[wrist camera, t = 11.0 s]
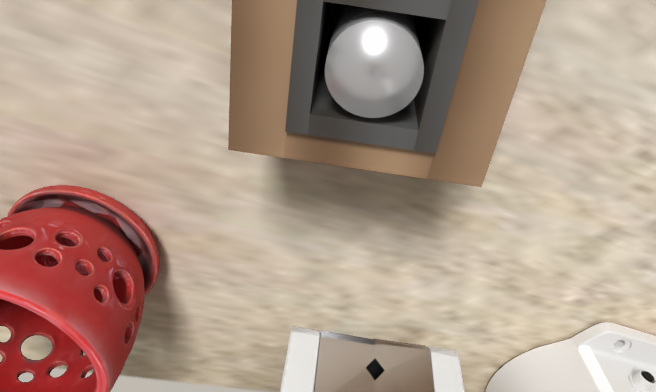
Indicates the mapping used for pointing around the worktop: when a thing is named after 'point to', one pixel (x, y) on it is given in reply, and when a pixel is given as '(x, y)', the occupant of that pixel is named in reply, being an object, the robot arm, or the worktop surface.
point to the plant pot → (72, 287)
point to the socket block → (390, 131)
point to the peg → (373, 61)
